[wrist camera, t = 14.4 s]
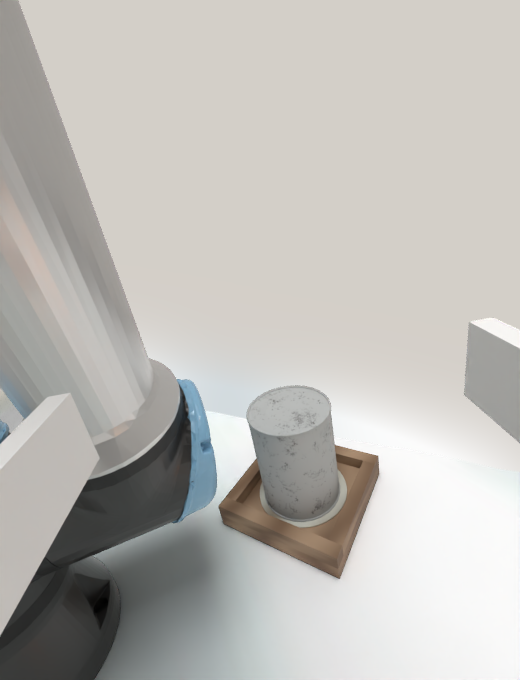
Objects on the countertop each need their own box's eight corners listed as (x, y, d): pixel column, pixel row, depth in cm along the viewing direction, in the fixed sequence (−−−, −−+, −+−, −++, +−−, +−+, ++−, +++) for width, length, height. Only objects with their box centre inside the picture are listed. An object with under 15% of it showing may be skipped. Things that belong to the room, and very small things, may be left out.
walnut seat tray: (223, 523, 42) (218, 506, 41) (281, 446, 53) (278, 430, 52) (339, 578, 34) (337, 558, 33) (379, 473, 45) (378, 456, 44)
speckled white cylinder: (261, 524, 39) (240, 439, 35) (267, 463, 48) (251, 389, 43) (345, 520, 38) (335, 431, 33) (335, 458, 47) (326, 381, 42)
